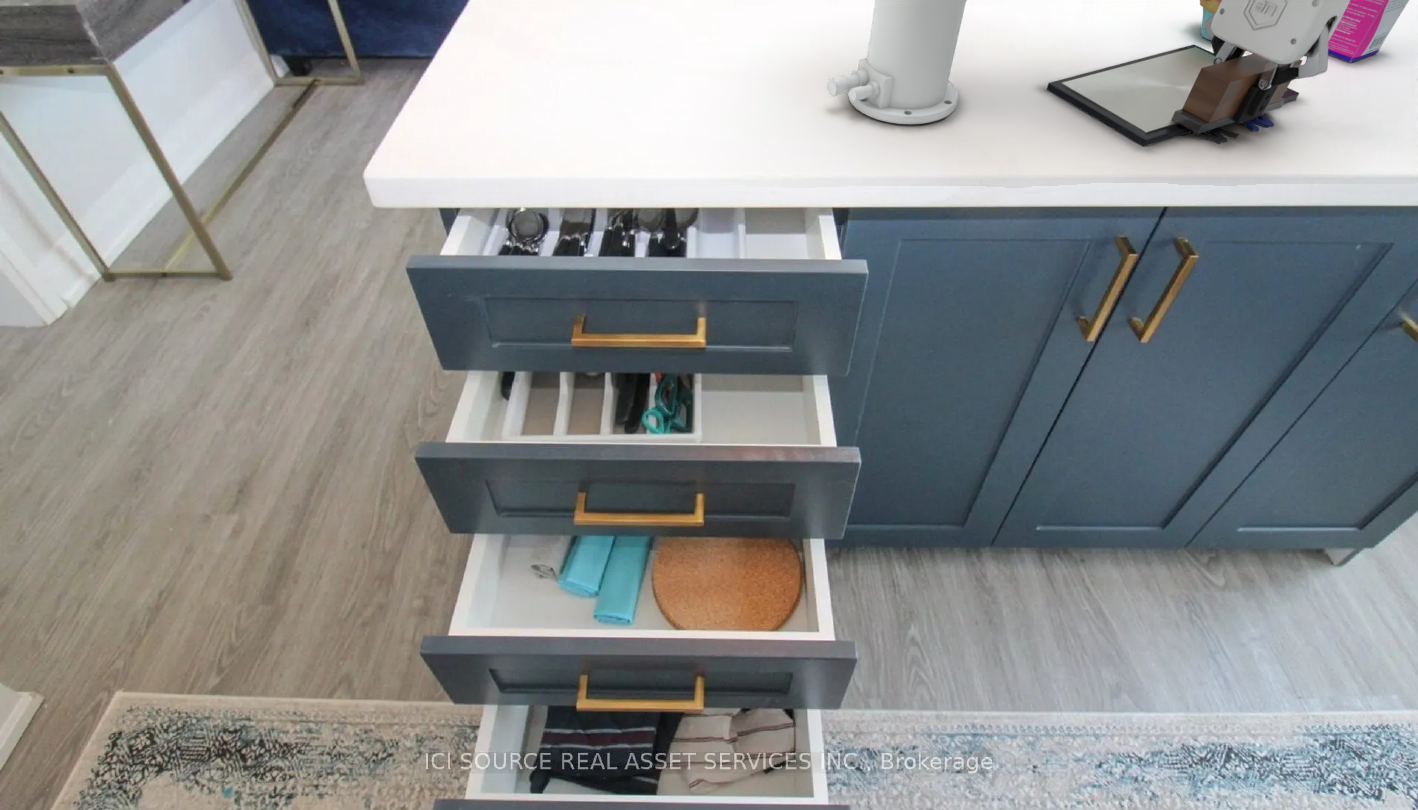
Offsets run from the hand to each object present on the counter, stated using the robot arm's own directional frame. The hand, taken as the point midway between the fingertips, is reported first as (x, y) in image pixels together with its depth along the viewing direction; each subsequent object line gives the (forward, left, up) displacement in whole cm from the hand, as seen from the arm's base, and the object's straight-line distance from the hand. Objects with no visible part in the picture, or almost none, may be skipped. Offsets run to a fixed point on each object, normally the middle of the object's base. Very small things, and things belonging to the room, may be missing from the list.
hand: (1228, 109), depth 83 cm
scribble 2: (+3, -2, -1) cm, 4 cm away
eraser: (0, 0, 0) cm, 0 cm away
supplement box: (+29, +6, -2) cm, 30 cm away
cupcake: (+19, +16, -2) cm, 25 cm away
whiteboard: (0, +7, -1) cm, 8 cm away
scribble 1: (-3, -2, -1) cm, 4 cm away
